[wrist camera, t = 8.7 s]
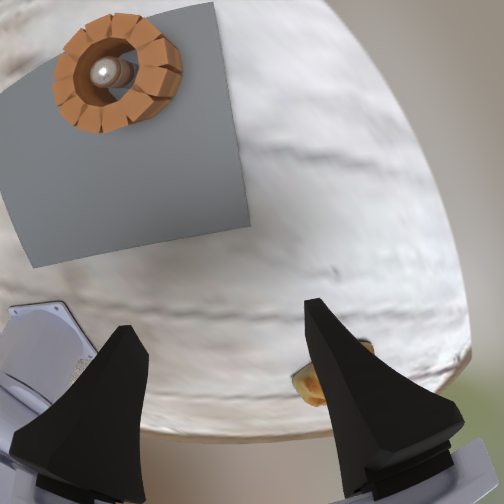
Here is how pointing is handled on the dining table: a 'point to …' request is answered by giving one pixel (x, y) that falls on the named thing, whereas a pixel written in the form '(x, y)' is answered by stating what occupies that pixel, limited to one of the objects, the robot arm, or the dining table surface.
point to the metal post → (113, 73)
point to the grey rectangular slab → (125, 159)
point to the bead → (115, 44)
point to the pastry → (313, 383)
